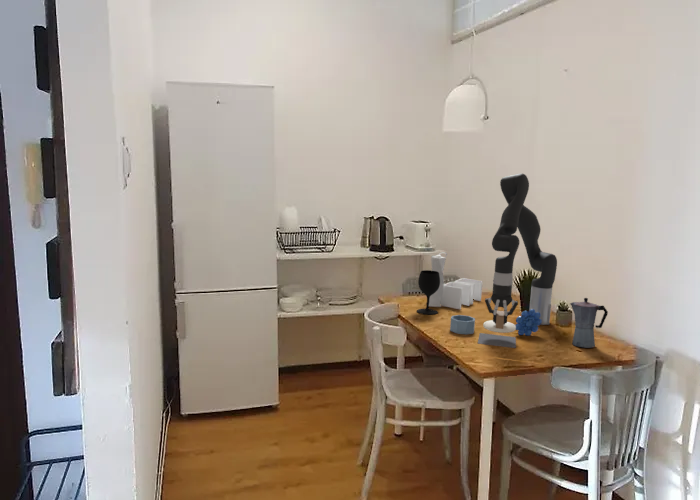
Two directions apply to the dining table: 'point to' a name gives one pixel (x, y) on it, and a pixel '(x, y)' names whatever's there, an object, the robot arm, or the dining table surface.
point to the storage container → (461, 293)
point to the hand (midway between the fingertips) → (499, 323)
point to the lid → (499, 324)
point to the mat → (497, 340)
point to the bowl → (462, 324)
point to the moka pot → (586, 322)
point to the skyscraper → (438, 266)
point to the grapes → (528, 322)
